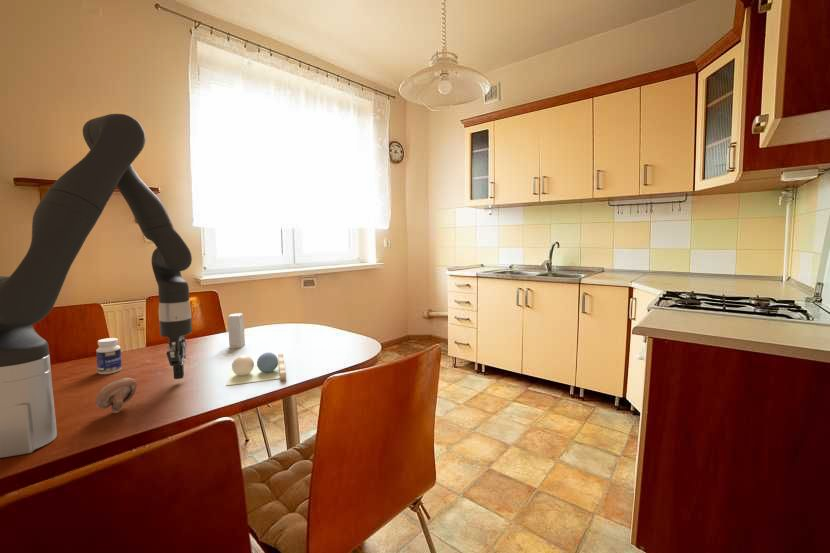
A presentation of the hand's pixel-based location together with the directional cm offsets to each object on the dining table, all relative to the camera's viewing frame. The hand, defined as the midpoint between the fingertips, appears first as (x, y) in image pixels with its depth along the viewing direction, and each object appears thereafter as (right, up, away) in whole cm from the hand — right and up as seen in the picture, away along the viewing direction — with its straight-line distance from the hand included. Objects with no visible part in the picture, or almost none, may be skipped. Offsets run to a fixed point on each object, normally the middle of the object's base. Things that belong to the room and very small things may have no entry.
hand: (179, 377), depth 103 cm
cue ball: (+15, +2, +6) cm, 16 cm away
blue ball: (+21, +2, +9) cm, 23 cm away
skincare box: (-1, +2, +36) cm, 36 cm away
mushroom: (-3, -3, -17) cm, 18 cm away
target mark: (+18, -1, +7) cm, 20 cm away
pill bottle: (-27, -1, +9) cm, 28 cm away
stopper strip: (+25, -1, +10) cm, 27 cm away
